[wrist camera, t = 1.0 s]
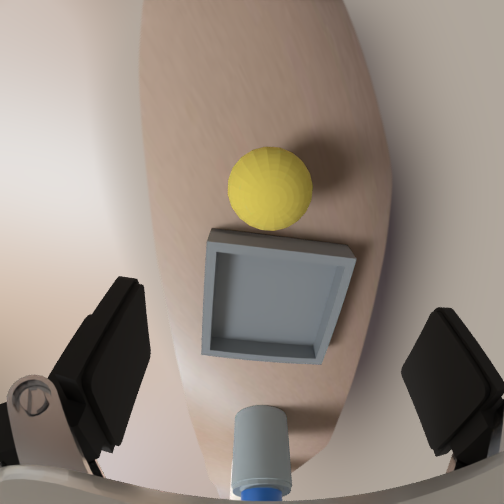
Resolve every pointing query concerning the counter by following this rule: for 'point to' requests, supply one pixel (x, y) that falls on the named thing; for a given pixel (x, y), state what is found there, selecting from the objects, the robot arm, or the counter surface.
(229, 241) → the tray
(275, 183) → the light bulb
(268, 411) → the spray bottle
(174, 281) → the counter surface
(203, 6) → the counter surface
